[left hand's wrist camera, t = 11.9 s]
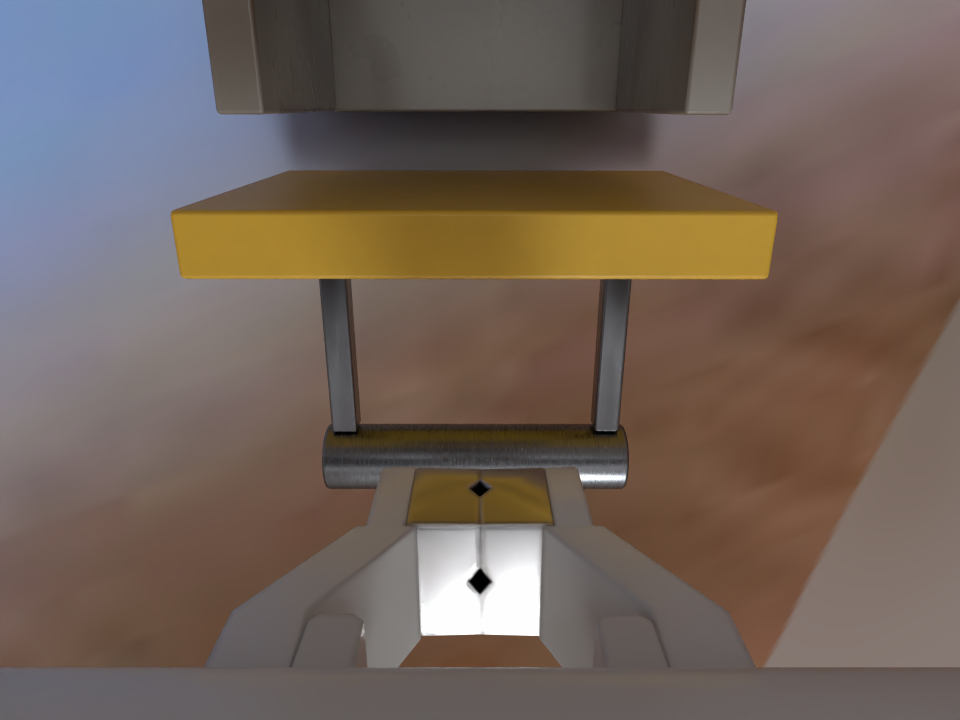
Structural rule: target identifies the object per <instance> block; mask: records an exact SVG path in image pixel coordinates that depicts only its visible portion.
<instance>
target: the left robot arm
mask: <svg viewBox="0 0 960 720" xmlns="http://www.w3.org/2000/svg"><path fill="white" fill-rule="evenodd" d="M462 634H496V635H533V636H539V639H540V640H541V641H542V642H543V644H544V645H545V646H546V647H547V649H548V650H549V651H550V652H551V654H552V655H553V656H554V657H555V658H556V660H557V661H558V662H559V663H560V665H561V666H562V667H563V668H398V666H399V665H400V664H401V663H402V661H403V660H404V659H405V658H406V657H407V655H408V654H409V653H410V652H411V650H412V649H413V648H414V647H415V645H416V644H417V643H418V642H419V640H420V639H421V636H427V635H462ZM0 720H960V668H756V667H755V664H754V662H753V660H752V658H751V656H750V654H749V652H748V650H747V648H746V646H745V644H744V642H743V640H742V638H741V636H740V634H739V632H738V630H737V628H736V626H735V624H734V622H733V620H732V618H731V616H730V614H729V612H728V611H726V610H725V609H723V608H722V607H721V606H719V605H718V604H716V603H715V602H713V601H712V600H710V599H709V598H707V597H706V596H705V595H703V594H702V593H700V592H699V591H697V590H696V589H694V588H693V587H691V586H690V585H688V584H687V583H686V582H684V581H683V580H681V579H680V578H678V577H677V576H675V575H674V574H672V573H671V572H669V571H668V570H667V569H665V568H664V567H662V566H661V565H659V564H658V563H656V562H655V561H653V560H652V559H650V558H649V557H648V556H646V555H645V554H643V553H642V552H640V551H639V550H637V549H636V548H634V547H633V546H631V545H630V544H629V543H627V542H626V541H624V540H623V539H621V538H620V537H618V536H617V535H615V534H614V533H612V532H611V531H610V530H608V529H607V528H605V527H604V526H594V525H593V521H592V518H591V514H590V511H589V507H588V503H587V500H586V496H585V493H584V489H583V485H582V482H581V478H580V475H579V471H578V469H577V468H576V467H558V468H511V469H465V468H417V469H416V468H415V467H390V468H384V469H383V470H382V471H381V474H380V477H379V481H378V485H377V488H376V492H375V496H374V499H373V503H372V507H371V510H370V514H369V518H368V521H367V525H366V526H356V527H355V528H353V529H352V530H350V531H349V532H348V533H346V534H345V535H343V536H342V537H340V538H339V539H337V540H336V541H334V542H333V543H331V544H330V545H328V546H327V547H326V548H324V549H323V550H321V551H320V552H318V553H317V554H315V555H314V556H312V557H311V558H309V559H308V560H306V561H305V562H303V563H302V564H301V565H299V566H298V567H296V568H295V569H293V570H292V571H290V572H289V573H287V574H286V575H284V576H283V577H281V578H280V579H279V580H277V581H276V582H274V583H273V584H271V585H270V586H268V587H267V588H265V589H264V590H262V591H261V592H259V593H258V594H257V595H255V596H254V597H252V598H251V599H249V600H248V601H246V602H245V603H243V604H242V605H240V606H239V607H237V608H236V609H234V610H233V611H232V612H231V614H230V616H229V618H228V620H227V622H226V624H225V626H224V628H223V630H222V632H221V634H220V636H219V638H218V640H217V642H216V644H215V646H214V648H213V650H212V652H211V654H210V656H209V658H208V660H207V662H206V664H205V666H204V668H137V667H37V668H0Z"/></svg>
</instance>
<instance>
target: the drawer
mask: <svg viewBox="0 0 960 720" xmlns="http://www.w3.org/2000/svg"><path fill="white" fill-rule="evenodd" d="M202 4H203V11H204V19H205V26H206V34H207V41H208V49H209V56H210V64H211V71H212V79H213V87H214V94H215V102H216V109H217V112H218V113H220V114H280V113H306V112H332V111H387V112H633V113H656V114H680V115H727V114H730V113H731V111H732V106H733V98H734V91H735V83H736V75H737V67H738V60H739V52H740V44H741V36H742V29H743V21H744V13H745V6H746V0H202ZM777 218H778V214H777V212H776V211H774V210H771V209H768V208H766V207H763V206H760V205H757V204H754V203H751V202H749V201H746V200H743V199H740V198H737V197H735V196H732V195H729V194H726V193H723V192H720V191H718V190H715V189H712V188H709V187H706V186H703V185H701V184H698V183H695V182H692V181H689V180H687V179H684V178H681V177H678V176H675V175H672V174H670V173H667V172H664V171H287V172H284V173H281V174H278V175H275V176H272V177H269V178H266V179H263V180H260V181H257V182H254V183H251V184H249V185H246V186H243V187H240V188H237V189H234V190H231V191H228V192H225V193H222V194H219V195H216V196H213V197H211V198H208V199H205V200H202V201H199V202H196V203H193V204H190V205H187V206H184V207H181V208H178V209H175V210H173V211H172V212H171V220H172V226H173V233H174V239H175V245H176V251H177V257H178V263H179V269H180V274H181V276H182V277H183V278H186V279H319V283H320V295H321V306H322V317H323V329H324V340H325V352H326V363H327V374H328V386H329V397H330V408H331V420H332V424H331V425H329V426H328V428H327V430H326V433H325V437H324V442H323V451H322V469H323V477H324V481H325V484H326V486H327V488H329V489H376V488H377V485H378V481H379V477H380V474H381V471H382V470H383V469H384V468H390V467H415V468H416V469H417V468H465V469H511V468H558V467H576V468H577V469H578V471H579V475H580V478H581V482H582V485H583V489H622V488H624V487H625V485H626V482H627V478H628V470H629V451H628V442H627V436H626V433H625V430H624V428H623V426H622V425H620V424H619V419H620V407H621V395H622V384H623V372H624V360H625V349H626V337H627V325H628V314H629V302H630V290H631V279H764V278H767V277H768V274H769V268H770V262H771V256H772V249H773V243H774V237H775V231H776V225H777ZM351 279H600V294H599V308H598V323H597V338H596V352H595V367H594V381H593V396H592V411H591V422H592V424H360V421H361V418H360V403H359V389H358V375H357V361H356V346H355V332H354V318H353V304H352V290H351Z"/></svg>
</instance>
